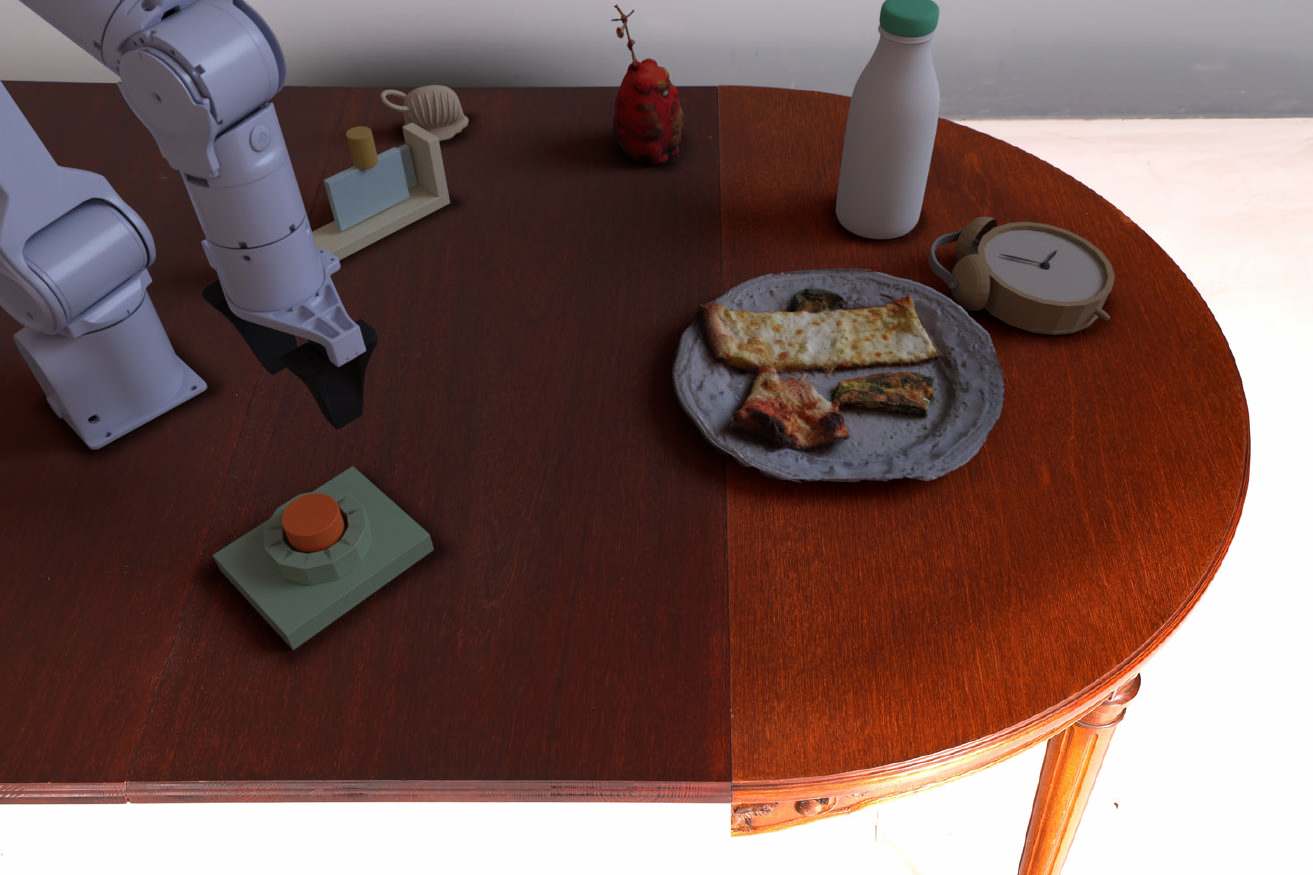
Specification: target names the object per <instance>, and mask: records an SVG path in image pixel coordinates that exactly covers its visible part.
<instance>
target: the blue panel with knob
mask: <svg viewBox="0 0 1313 875" xmlns="http://www.w3.org/2000/svg"><path fill="white" fill-rule="evenodd" d="M345 137H346V141H347V145H348V148H349V152H350V157H351V161H352V165H353V166H351V167H349V168H347V169H345V170H342V171H340V172H338V173H336V174H334V175H332V176H330V177H328V178H325V179H324V180H323V183H324V188H325V191H326V195H327V198H328V202H329V206H330V209H331V212H332V216H333V221H335V224H336V227H337V229H339V230H340V231H343V230H345V229H347V228H349V227H351V226H353V225H355V224H357V223H359V222H361V221H363V220H365V219H367V218H369V217H371V216H373V215H375V214H377V213H379V212H381V211H383V210H385V209H387V208H389V207H391V206H393V205H395V204H397V203H399V202H401V201H403V200H405V199H407V198H409V197H410V196H409V192H408V187H407V182H406V178H405V173H404V168H403V163H402V159H401V154H400V150H399V149H397V147H395V146H394V147H392V148H390V149H387V150H385V151H383V152H381V153H377V149H376V148H377V147H376V144H375V141H374V135H373V131H372V129H371V128H370V127H368V126H364V125H362V126H360V125H358V126H353V127H351V128H349V129H347V131H346V132H345Z"/></svg>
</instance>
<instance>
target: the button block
mask: <svg viewBox="0 0 1313 875" xmlns="http://www.w3.org/2000/svg"><path fill="white" fill-rule="evenodd" d="M313 493H320V494H325V495H328V496H330V497H332V498H333V499H334V500H335V501H336V502H337V504H338V507H339V510H340V513H341V515H342V518H343V521H344V531H343V534H342V536H341V537H340V539H339V540H338V541H337V542H336V543H335V544H334V545H332V546H331V547H329V548H327V549H325V550H322V551H319V552H312V553H307V552H302V551H299V550H297V549H295V548H294V547H293V546H292V545H291V544H290V542H289V540H288V538H287V535H286V533H285V531H284V528H283V526H282V522H281V518H282V514H283V512H284V510H285V508H286V507H287V506H288V505H289V504H290V503H291V502H292V501H294V500H295V499H297V498H299V497H301V496H304V495H307V494H313ZM434 550H435V549H434V545H433V541H432V537H431V535H430V533H429V532H428V531H427V530H425V529H424V528H423V527H422V526H421V524H419V523H418V522H417V521H415V520H414V519H413V517H411V516H410V515H409V514H408V513H406V512H405V511H404V510H403V509H401V507H400V506H399V505H397V503H395V502H394V501H393V500H392V499H391V498H390V497H388V496H387V495H386V494H385V493H384V492H383V491H382V490H381V489H379V488H378V487H377V486H376V485H375V484H373V482H371V481H370V480H369V478H367V477H366V476H365V475H363V473H361V472H360V471H359V470H358V469H357V468H356V467H354V465H351V466H350V467H349V468H347V469H346V470H344V471H342V472H340V473H339V474H337V475H336V476H334V477H333V478H332V479H329V481H326V482H325V483H323V484H322V485H320V486H319V487H317V488H315V489H313V491H309V492H303V493H300V494H298V495H295V497H292V498H290V500H288V501H286V502H285V503H283V504H281V505H280V506H278V507H277V508H276V509H275V510H274V512H273V513H272V515H271V517H270V518H269V519H267V520H265V521H264V522H262V523H261V524H259V525H257V526H256V527H254V528H253V529H251V530H249V531H248V532H247V533H244V534H243V535H241V536H240V537H239V538H237V539H236V540H234V541H232V542H231V543H229V544H227V545H226V546H224V547H223V548H221V549H220V550H218V551H217V552H215V553H214V554H212V557H213V559H214V562H215V563H216V566H217V567H218V569H219V571H220V573H222V574H223V575H224V576H225V577H226V579H227V580H228V581H229V582H230V583H231V584H232V586H234V588H235V589H237V590H238V592H239V593H240V594H241V595H242V596H243V597H244V598H245V599H246V600H247V602H249V604H250V605H251V606H252V607H253V608H254V609H255V611H257V612H258V614H259V615H260V616H261V617H262V618H263V619H264V620H265V621H266V622H267V623H268V624H269V626H270V627H271V628H272V629H273V630H274V631H275V632H276V633H277V635H278V636H279V637H280V638H281V639H282V640H283V641H284V642H285V643H286V644H287V645H288V646H289V647H290V648H291V650H292V651H294V650H296V649H297V648H299V647H300V646H302V645H303V644H304V643H306V642H307V641H309V640H310V639H311V638H313V637H314V636H316V635H317V634H318V633H320V632H321V631H322V630H324V629H325V628H326V627H328V626H329V625H331V624H332V623H334V622H335V621H336V620H338V619H339V618H341V617H342V616H344V615H345V614H346V613H348V612H349V611H350V610H352V609H353V608H354V607H356V606H358V605H359V604H360V603H361V602H363V601H364V600H366V599H367V598H369V597H370V596H371V595H372V594H374V593H376V592H377V591H378V590H380V589H381V588H382V587H384V586H385V585H387V584H388V583H390V582H391V581H392V580H394V579H395V578H397V577H398V576H399V575H401V574H403V573H404V572H405V571H407V569H409V568H410V567H412V566H414V565H415V564H416V563H417V562H419V561H420V560H422V559H423V558H424V557H426V556H428V554H430V553H432V552H433V551H434Z"/></svg>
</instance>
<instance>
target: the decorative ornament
mask: <svg viewBox="0 0 1313 875" xmlns="http://www.w3.org/2000/svg"><path fill="white" fill-rule="evenodd" d="M379 96H380V100H381V102H382V103H383V104H384V106H386V107H387V108H389V109H390V110H392V111H395V112H399V113H403V118H404V124H403V125H402V127H404V126H406V125H408V124H410V123H414V124H416V125H417V126H419V127H421V128H422V129H424V130H426V131H428V132H429V133H431V134H433V135H435V136H436V137H438V139H439V142H444V141H448V140H451V139H453V138H454V137H455V135H457V134H460V133H462V131H463V129H465V128H467V127H468V124H469V123H470V122H469V121H470V118H468V116H466V115H465V114H464V111H463V108H462V104H461V101H460V99H459V97H458V95H457V93H456V92H455V91H454V90H453V89H452V88H450V87H448V86H445V85H441V84H431V85H423V86H419V87H417V88H415V89H412V90H411V91H409V92H408V93H407V94H406V93H404V92H402V91H401V90H400V91H399V90H396V89H385V90H383V91H382V92H381V93H380V95H379ZM386 96H392V97H396V98H398V99H401V100H403V104H402V105H398V104H395V103H392V102H390V100H388V99H387V97H386Z"/></svg>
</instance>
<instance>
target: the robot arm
mask: <svg viewBox="0 0 1313 875" xmlns="http://www.w3.org/2000/svg"><path fill="white" fill-rule="evenodd" d="M18 1H19V2H20V3H22V4H23V5H24V6H25V7H27V8H28V9H29V10H31V11H32V12H33V13H34V14H36V15H37V16H38V17H40V18H41V19H43V21H45V22H46V23H48V24H49V25H51V26H52V27H53V29H56V30H57V31H58V32H60V34H62V35H64V36H65V37H66V38H68V39H69V40H70V41H72V43H74V44H76V46H78V47H79V48H81V49H82V51H84V52H86V53H87V54H89V55H90V56H91V57H92V58H94V59H95V60H96V61H98V62H99V63H100V64H102V65H103V66H104V67H106V68H107V69H109V70H110V71H111V72H112V73H113V74H115V76H117V77H119V78H120V81H117V82H116V85H117V87H118V89H119V92H120V93H121V95H122V97H123V99H124V100H125V102H126V103H127V105H128V106H129V109H131V111H132V112H133V113H134V115H135V116H136V117H137V119H138V120H139V121H140V122H141V123H142V124H143V125H144V126H145V128H146V129H147V130H148V131H149V132H150V134H151V135H152V137H153V138H154V140H155V142H156V144H157V147H158V150H159V152H160V154H161V157H162V158H163V159H165V160H166V161H167V163H168V165H169V166H170V168H172V169H173V170H176V171H178V172H179V174H180V176H181V178H182V180H183V184H184V185H185V189H186V191H187V193H188V196H189V199H190V201H191V204H192V207H193V209H194V211H195V214H196V216H197V219H198V222H199V225H200V227H201V229H202V233H203V234H204V237H205V239H203V240H202V241H200V243H201V246H202V250H203V251H204V254H205V257H206V258H207V261H208V263H209V266H210V267H211V268H212V269H214V270H215V271H216V273H217V278H218V279H217V280H215V281H214V282H212V283H209V284H207V285H206V286H205V287H204V288H203V289H202V291H201V297H202V299H203V300H204V301H205V302H206V303H208V304H209V305H210V306H211V307H212V308H214V309H215V310H216V311H218V312H219V313H221V314H222V315H223V317H225V318H226V320H227V321H229V323H230V324H231V325H232V326H233V327H234V329H235V330H236V331H237V332H238V333H239V335H240V337H241V338H242V339H243V340H244V342H245V344H246V345H247V346H248V347H249V349H250V350H251V352H252V354H254V356H255V357H256V359H257V361H258V362H259V363H260V364H261V366H262V367H263V368H264V369H265V370H266V371H267V372H268V373H269V374H270V375H272V376H275V375H277V374H278V373H279V372H282V371H283V370H285V369H287V370H289V371H290V372H291V373H292V374H293V375H295V376H296V377H297V378H298V379H300V380H301V381H302V383H303V384H304V385H305V386H306V388H307V389H308V391H309V393H310V394H311V395H312V396H313V399H314V401H315V403H316V404H317V406H318V408H319V410H320V412H321V414H322V415H323V417H324V418H325V419H326V421H327V422H328V424H330V425H331V426H332V427H333V428H334V429H336V430H341V429H343V428H344V427H346V426H348V425H349V424H351V423H352V422H353V421H355V420H357V419H359V418H360V417H361V416H363V414H364V393H365V378H366V373H367V368H368V365H369V362H370V359H371V358H372V355H373V352H374V350H375V349H376V347H377V345H378V343H379V342H378V341H379V340H378V335H377V334H378V333H377V331H376V329H375V328H374V327H373V326H372V325H370V324H369V323H368V322H366V321H365V320H363V319H362V318H359V319H357V320H355V321H354V320H352V318H351V317H350V316H349V314H348V313H347V311H346V309H345V307H344V304H343V302H342V300H341V297H340V296H339V293H338V291H337V289H336V287H335V284H334V282H333V280H332V278H331V276H332V275H333V274H334V273H337V272H338V271H339V270H340V269H341V263H340V260H339V259H338V257H337V256H335V255H334V254H332V253H331V252H329V251H328V250H326V249H317V247H316V244H315V241H314V237H313V234H312V232H313V231H312V228H311V224H310V221H309V218H308V214H307V211H306V208H305V204H304V200H303V198H302V195H301V191H300V187H299V184H298V181H297V178H296V175H295V171H294V168H293V164H292V162H291V158H290V155H289V152H288V148H287V145H286V142H285V138H284V135H283V132H282V128H281V126H280V122H279V118H278V115H277V112H276V109H275V105H274V102H269V101H271V100H272V99H273V98H274V97H275V95H276V94H277V95H278V93H280V92H281V91H282V90H283V89H284V87H285V85H286V82H287V76H288V71H287V70H288V67H287V60H286V56H285V53H284V50H283V48H282V45H281V43H280V41H279V39H278V37H277V35H276V33H275V32H274V30H273V29H272V27H271V26H270V24H269V23H268V22H267V20H266V19H265V18H264V17H263V16H262V14H260V13H259V12H258V10H256V9H255V7H253V6H252V5H250V3H249V2H247V0H18ZM156 257H157V250H156V246H155V241H154V237H153V235H152V233H151V231H150V229H149V227H148V225H147V224H146V223H145V221H144V220H143V219H142V217H141V216H140V215H139V214H138V213H137V212H136V211H135V210H134V209H133V208H132V207H131V206H130V205H128V203H126V202H125V201H124V200H123V199H122V197H121V196H120V195H119V194H118V193H117V191H116V190H115V189H114V187H113V186H112V185H111V183H110V182H109V181H108V180H107V178H106V177H105V176H103V174H102V175H101V174H100V173H96V172H93V171H90V170H85V169H82V168H74V167H68V166H62V165H58V164H57V162H56V161H55V159H54V158H53V156H52V155H51V153H50V152H49V151H48V149H47V148H46V146H45V144H44V143H43V141H42V140H41V139H40V137H39V135H38V134H37V132H36V131H35V130H34V128H33V127H32V125H31V123H29V121H28V119H27V118H26V116H25V115H24V114H23V112H22V111H21V109H20V107H19V106H18V104H17V103H16V102H15V100H14V99H13V98H12V95H11V94H10V93H9V91H8V90H7V88H6V86H5V85H4V84H3V82H2V81H1V80H0V306H1V308H2V309H3V310H4V311H5V312H6V313H7V314H8V315H9V316H10V317H11V318H13V319H14V320H15V321H16V322H17V323H19V324H20V325H22V326H24V327H23V328H21V329H20V330H18V331H17V332H15V333H13V334H12V339H13V342H14V344H15V345H16V347H17V350H18V351H19V353H20V355H21V356H22V358H23V359H24V361H25V363H26V365H27V366H28V368H29V369H30V371H31V373H32V375H33V376H34V378H35V380H36V381H37V383H38V385H39V386H40V388H41V390H42V392H43V393H44V395H45V396H46V401H47V403H48V405H49V406H50V408H51V409H52V410H53V412H54V414H55V415H56V416H57V417H58V418H59V419H62V420H64V422H66V423H67V425H68V426H69V427H70V428H71V429H72V430H73V431H74V432H75V434H76V435H77V436H78V437H79V438H80V439H81V441H82V442H84V444H86V446H87V447H88V448H89V449H90V450H92V451H95V450H99V449H102V448H104V447H105V446H106V445H109V444H110V443H113V442H114V441H116V440H118V439H119V438H121V437H123V436H125V435H127V434H129V433H130V432H132V431H134V430H136V429H138V428H140V427H141V426H143V425H145V424H147V423H148V422H151V421H153V420H154V419H156V418H158V417H160V416H162V415H164V414H165V413H167V412H169V411H170V410H172V409H174V408H176V407H178V406H179V405H181V404H183V403H185V402H187V401H189V400H191V399H192V398H195V397H196V396H198V395H200V394H202V393H203V392H205V391H206V390H207V389H208V385H207V383H206V381H205V380H204V379H203V378H201V377H200V375H198V374H197V373H196V372H195V371H194V370H193V369H192V368H190V367H189V365H187V364H186V363H185V362H184V361H183V360H182V359H181V358H180V357H179V356H178V355H177V354H176V352H175V350H174V348H173V346H172V343H171V341H170V339H169V337H168V334H167V332H166V330H165V327H164V325H163V324H162V321H161V319H160V317H159V315H158V313H157V310H156V308H155V306H154V304H153V301H152V299H151V297H150V295H149V293H148V290H147V287H149V285H150V284H151V283H152V282H153V279H152V277H151V274H150V273H149V270H148V268H149V267H151V266H153V264H154V263H155V261H156ZM296 337H298V338H302V339H306V340H307V341H308V342H304V343H302V344H301V345H299V346H298V343H297V338H296Z"/></svg>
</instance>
